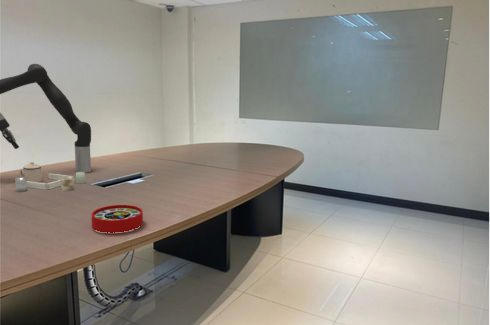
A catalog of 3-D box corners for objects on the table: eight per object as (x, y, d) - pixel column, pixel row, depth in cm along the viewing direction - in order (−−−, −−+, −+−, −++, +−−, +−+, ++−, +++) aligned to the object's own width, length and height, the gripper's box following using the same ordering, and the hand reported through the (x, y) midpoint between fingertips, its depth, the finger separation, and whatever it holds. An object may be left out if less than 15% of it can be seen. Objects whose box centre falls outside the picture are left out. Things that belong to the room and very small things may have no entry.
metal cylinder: (28, 189, 195) (27, 176, 193) (26, 191, 190) (25, 178, 189) (17, 189, 193) (16, 177, 192) (15, 192, 188) (14, 179, 187)
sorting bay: (21, 186, 199) (20, 181, 199) (50, 178, 219) (50, 173, 218) (47, 189, 195) (46, 184, 194) (74, 181, 215) (74, 176, 214)
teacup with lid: (45, 180, 214) (44, 161, 212) (36, 184, 205) (34, 164, 203) (26, 179, 215) (24, 160, 213) (15, 182, 206) (14, 162, 204)
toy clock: (132, 202, 163) (150, 215, 147) (132, 214, 164) (150, 228, 148) (85, 209, 151) (99, 224, 135) (86, 222, 152) (99, 238, 136)
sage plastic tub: (85, 181, 216) (85, 171, 215) (85, 183, 211) (84, 173, 210) (76, 181, 214) (75, 172, 213) (75, 183, 209) (75, 173, 208)
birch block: (70, 187, 201) (70, 177, 200) (73, 189, 197) (72, 179, 196) (61, 189, 198) (60, 178, 197) (63, 191, 194) (63, 180, 193)
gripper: (-6, 125, 205) (13, 151, 209) (-12, 124, 193) (8, 152, 197) (7, 118, 207) (25, 144, 212) (2, 117, 195) (21, 145, 199)
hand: (17, 148), depth 204 cm, fingers closed
